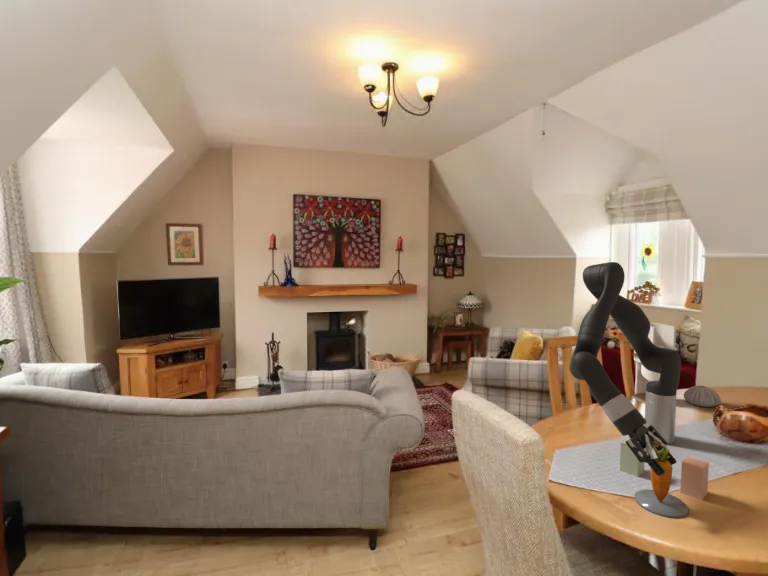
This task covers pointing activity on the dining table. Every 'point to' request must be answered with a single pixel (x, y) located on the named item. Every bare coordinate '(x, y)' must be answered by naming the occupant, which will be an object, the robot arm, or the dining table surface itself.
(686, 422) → the dining table surface
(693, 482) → the terracotta block
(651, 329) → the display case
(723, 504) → the dining table surface
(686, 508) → the slate coaster
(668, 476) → the carrot
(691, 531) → the dining table surface
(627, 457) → the sage block
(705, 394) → the sea urchin shell
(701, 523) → the dining table surface
